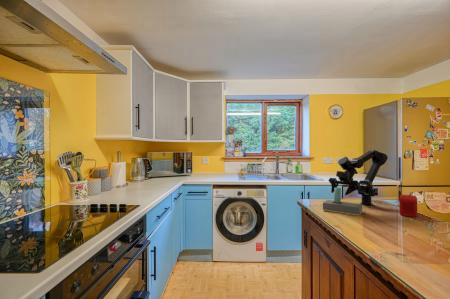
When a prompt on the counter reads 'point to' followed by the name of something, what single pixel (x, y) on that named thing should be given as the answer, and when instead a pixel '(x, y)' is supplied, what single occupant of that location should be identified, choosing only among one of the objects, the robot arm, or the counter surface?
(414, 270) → the counter surface
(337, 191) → the peg
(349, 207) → the socket block
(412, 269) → the counter surface
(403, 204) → the decorative item
